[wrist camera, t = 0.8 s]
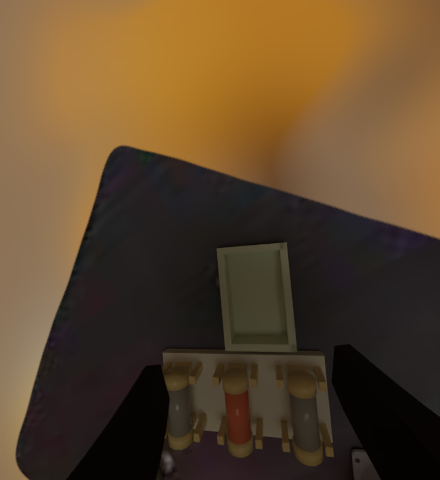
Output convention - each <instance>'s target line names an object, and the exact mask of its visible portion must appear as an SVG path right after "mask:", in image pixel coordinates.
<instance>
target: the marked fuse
mask: <svg viewBox="0 0 440 480" xmlns="http://www.w3.org/2000/svg"><path fill="white" fill-rule="evenodd" d="M222 385H223V390H224V393H225V405H226V416H227V428H228V431H227V445H228V450H229V452H230V453H231V454H232V455H233V456H235V457H239V458H242V457H246V456H248V455H250V454H251V453H252V451H253V449H254V439H253V432H252V429H251V421H250V409H249V398H248V388H249V382H248V373H247V372H246V371H245V370H243V369H240V368H232V369H228V370H226V371H225V372H223V374H222Z"/></svg>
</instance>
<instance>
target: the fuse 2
mask: <svg viewBox="0 0 440 480" xmlns="http://www.w3.org/2000/svg"><path fill="white" fill-rule="evenodd" d="M286 378H287V388H288V391H289V394H290V405H291V415H292V426H293V436H292V441H293V452H294V455H295V457H296V458H297V459H298V460H299V461H300V462H301V463H303V464H305V465H307V466H317V465H319V464H320V463H321V462H322V461H323V447H322V441H321V439H320V433H319V423H318V413H317V402H316V394H317V386H316V378H315V376H314V375H312V374H311V373H309V372H306V371H302V370H295V371H291V372H289V373H288V374H287V376H286Z"/></svg>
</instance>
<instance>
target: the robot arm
mask: <svg viewBox="0 0 440 480" xmlns="http://www.w3.org/2000/svg"><path fill="white" fill-rule="evenodd" d="M332 384H333V386H334V389H335V391H336V394H337V396H338V398H339V401H340V403H341V405H342V408H343V410H344V412H345V414H346V416H347V418H348V420H349V422H350V423H351V425H352V427H353V429H354V431H355V433H356V435H357V437H358V438H359V440H360V442H361V444H362V446H363V448H364V450H361V449H353V450H352V451H351V456H352V466H353V476H354V480H440V417H439V416H438V415H436V414H435V413H434V412H432V411H431V410H430V409H428V408H427V407H426V406H424V405H423V404H422V403H421V402H419V401H418V400H417V399H415V398H414V397H413V396H412V395H410V394H409V393H408V392H407V391H405V390H404V389H403V388H402V387H400V386H399V385H398V384H397V383H395V382H394V381H393V380H392V379H390V378H389V377H388V376H387V375H386V374H384V373H383V372H382V371H381V370H380V369H378V368H377V367H376V366H375V365H374V364H372V363H371V362H370V361H369V360H368V359H367V358H365V357H364V356H363V355H362V354H361V353H359V352H358V351H357V350H356V349H355V348H353V347H352V346H351V345H350V344H348V345H339V346H335V347H334V360H333V373H332ZM169 403H170V397H169V394H168V390H167V386H166V383H165V379H164V375H163V371H162V368H161V364H160V365H150V366H146V367H145V368H144V369H143V371H142V372H141V374H140V376H139V377H138V379H137V380H136V382H135V384H134V385H133V387H132V388H131V390H130V391H129V393H128V394H127V396H126V397H125V399H124V401H123V402H122V404H121V405H120V407H119V408H118V410H117V411H116V412H115V414H114V415H113V417H112V418H111V420H110V421H109V423H108V424H107V426H106V427H105V429H104V430H103V431H102V433H101V434H100V435H99V437H98V438H97V440H96V441H95V442H94V444H93V445H92V446H91V448H90V449H89V450H88V452H87V453H86V455H85V456H84V457H83V459H82V460H81V461H80V463H79V464H78V465H77V466H76V468H75V469H74V470H73V472H72V473H71V474H70V475H69V477H68V478H67V479H66V480H156V478H157V473H158V468H159V464H160V459H161V454H162V449H163V444H164V439H165V434H166V429H167V421H168V413H169ZM357 458H358V460H355V459H357Z"/></svg>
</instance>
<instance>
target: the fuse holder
mask: <svg viewBox="0 0 440 480" xmlns="http://www.w3.org/2000/svg"><path fill="white" fill-rule="evenodd" d="M163 363H164V366H163V367H162V371H163V375H164V373H165V372H166V371H167V370H168V369H170V368H173V367H177V366H183V367H186V368H188V370H189V384H188V385H189V398H190V411H191V422H192V424H193V429H195V431H194V433H193V436H194V442H200V440H201V438H202V435H203V432H204V430H206V431H216V432H218V435H217V440H218V444H220V445H224V443H225V438H226V434H227V431H228V428H227V416H226V405H225V393H224V390H223V385H222V374H223V372H225V371H226V370H228V369H232V368H240V369H243V370H245V371H246V372H247V373H248V382H249V388H248V398H249V409H250V421H251V429H252V432H253V435H255V444H256V449H263V436H267V437H278V438H282V447H283V452H290V447H289V439H292V436H293V426H292V415H291V405H290V394H289V391H288V388H287V378H286V376H287V374H288V373H289V372H291V371H295V370H302V371H306V372H309V373H311V374H312V375H314V376H315V378H316V386H317V394H316V402H317V413H318V423H319V433H320V439H321V441H322V442H323V446H324V449H325V453H326V456H329V457H334V454H333V447H332V443H333V440H332V430H331V420H330V410H329V400H328V390H327V380H326V370H325V360H324V355H323V353H322V351H297V352H255V351H225V350H217V349H166V350H165V351H164V352H163ZM168 429H169V422H168V421H167V429H166V434H165V438H166V437H167V435H168Z"/></svg>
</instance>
